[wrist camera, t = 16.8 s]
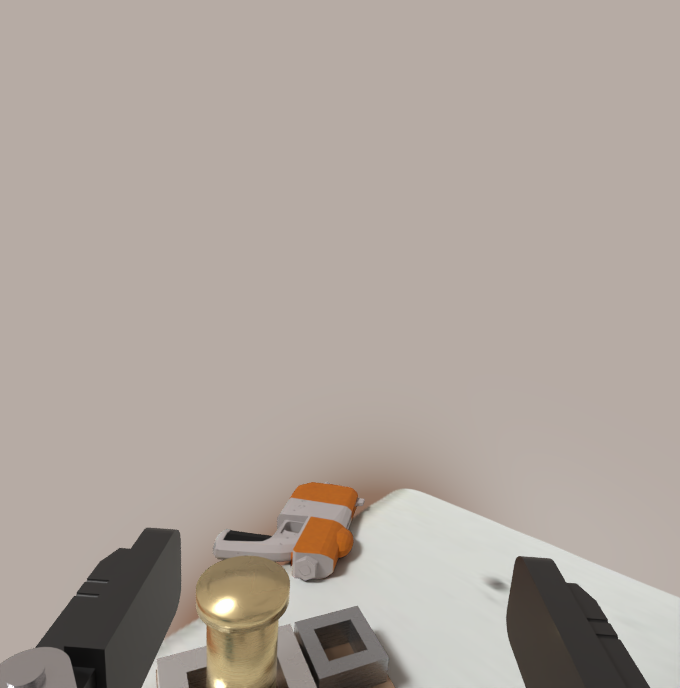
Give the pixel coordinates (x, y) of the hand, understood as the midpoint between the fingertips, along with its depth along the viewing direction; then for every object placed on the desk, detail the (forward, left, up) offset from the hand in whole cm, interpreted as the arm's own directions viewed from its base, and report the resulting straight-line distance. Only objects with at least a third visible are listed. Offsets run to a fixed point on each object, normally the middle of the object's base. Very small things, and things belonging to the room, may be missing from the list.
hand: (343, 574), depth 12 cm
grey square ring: (-12, -23, -30) cm, 40 cm away
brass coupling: (-3, -21, -29) cm, 36 cm away
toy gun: (-15, -45, -31) cm, 56 cm away
